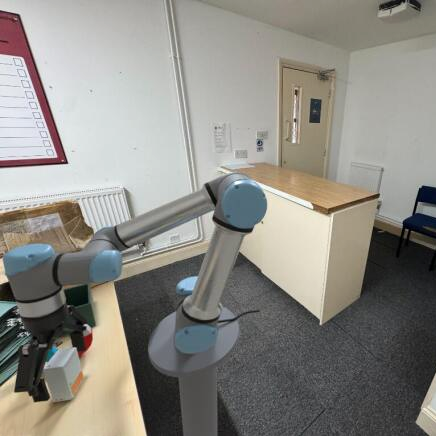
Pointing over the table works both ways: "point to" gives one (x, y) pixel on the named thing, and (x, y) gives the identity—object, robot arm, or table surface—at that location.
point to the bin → (80, 304)
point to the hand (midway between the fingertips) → (63, 372)
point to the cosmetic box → (63, 374)
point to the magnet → (88, 341)
